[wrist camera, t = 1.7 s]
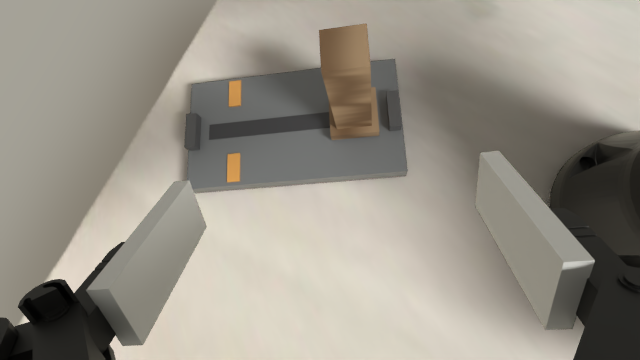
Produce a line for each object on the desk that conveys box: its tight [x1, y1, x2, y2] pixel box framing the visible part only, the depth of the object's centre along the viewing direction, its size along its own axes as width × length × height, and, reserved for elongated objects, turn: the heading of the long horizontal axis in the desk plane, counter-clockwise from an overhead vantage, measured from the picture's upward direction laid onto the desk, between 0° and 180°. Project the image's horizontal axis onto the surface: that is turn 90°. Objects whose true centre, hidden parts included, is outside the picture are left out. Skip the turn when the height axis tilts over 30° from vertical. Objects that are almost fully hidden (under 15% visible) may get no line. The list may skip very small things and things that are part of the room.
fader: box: [319, 24, 379, 140], centre depth 32 cm, size 5×5×12 cm
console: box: [185, 59, 408, 193], centre depth 40 cm, size 24×13×3 cm, turn 93°
